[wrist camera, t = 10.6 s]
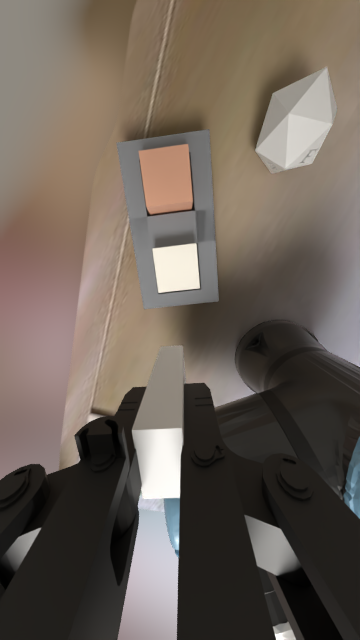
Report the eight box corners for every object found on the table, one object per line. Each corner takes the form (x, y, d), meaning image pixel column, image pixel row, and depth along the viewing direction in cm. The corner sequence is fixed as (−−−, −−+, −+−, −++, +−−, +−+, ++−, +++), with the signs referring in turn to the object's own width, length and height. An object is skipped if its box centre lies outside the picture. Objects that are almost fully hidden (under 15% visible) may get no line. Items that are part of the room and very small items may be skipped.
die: (238, 177, 28) (292, 179, 21) (248, 89, 22) (326, 54, 15) (277, 169, 30) (336, 169, 23) (294, 87, 24) (381, 55, 17)
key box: (204, 153, 26) (209, 129, 22) (213, 297, 32) (218, 301, 27) (127, 164, 27) (116, 142, 22) (149, 304, 32) (143, 309, 28)
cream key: (193, 248, 28) (196, 243, 23) (197, 286, 29) (199, 288, 25) (157, 253, 28) (152, 248, 23) (162, 290, 30) (158, 292, 25)
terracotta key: (187, 169, 25) (188, 143, 20) (190, 214, 27) (192, 201, 22) (146, 174, 26) (138, 150, 21) (152, 219, 27) (146, 207, 22)
